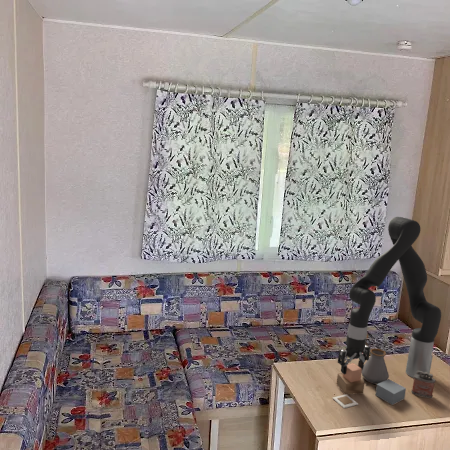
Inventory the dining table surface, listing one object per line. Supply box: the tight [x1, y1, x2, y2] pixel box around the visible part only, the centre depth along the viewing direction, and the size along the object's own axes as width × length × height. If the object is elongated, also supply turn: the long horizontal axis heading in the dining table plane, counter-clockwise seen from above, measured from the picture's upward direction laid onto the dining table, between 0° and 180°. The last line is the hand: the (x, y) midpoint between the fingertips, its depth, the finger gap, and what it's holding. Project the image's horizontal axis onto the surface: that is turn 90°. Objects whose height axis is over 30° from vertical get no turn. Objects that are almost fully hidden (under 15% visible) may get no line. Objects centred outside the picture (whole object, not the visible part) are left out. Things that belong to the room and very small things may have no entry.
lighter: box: [411, 371, 436, 399], centre depth 200 cm, size 8×3×10 cm, turn 71°
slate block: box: [374, 378, 407, 406], centre depth 197 cm, size 8×8×5 cm
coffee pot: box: [361, 341, 390, 385], centre depth 213 cm, size 21×12×15 cm, turn 17°
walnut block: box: [336, 372, 365, 395], centre depth 201 cm, size 8×8×5 cm
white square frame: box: [331, 394, 359, 409], centre depth 192 cm, size 7×7×1 cm
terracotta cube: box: [343, 362, 362, 382], centre depth 200 cm, size 5×5×5 cm
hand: (351, 371), depth 200 cm, fingers open, 8 cm apart
